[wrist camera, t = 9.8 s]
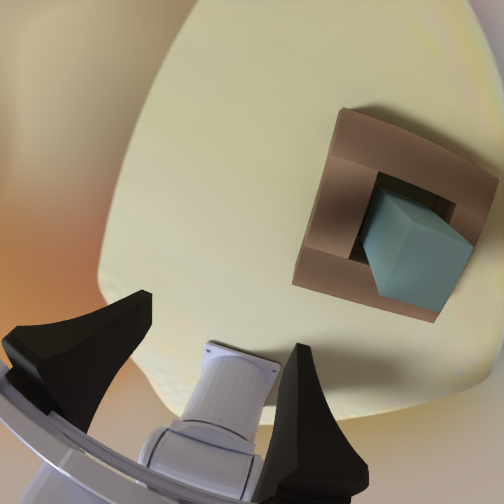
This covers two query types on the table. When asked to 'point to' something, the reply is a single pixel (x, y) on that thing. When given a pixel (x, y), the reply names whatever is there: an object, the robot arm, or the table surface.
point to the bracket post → (412, 251)
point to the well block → (357, 197)
